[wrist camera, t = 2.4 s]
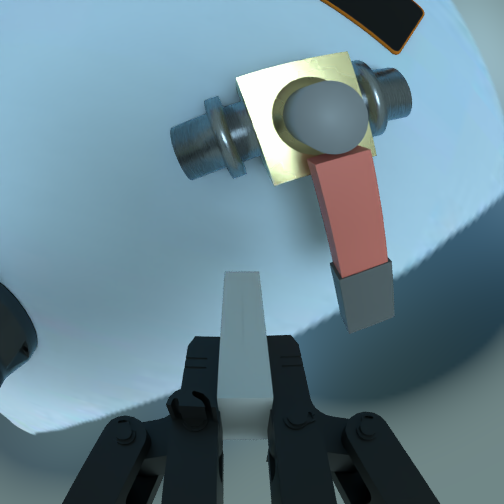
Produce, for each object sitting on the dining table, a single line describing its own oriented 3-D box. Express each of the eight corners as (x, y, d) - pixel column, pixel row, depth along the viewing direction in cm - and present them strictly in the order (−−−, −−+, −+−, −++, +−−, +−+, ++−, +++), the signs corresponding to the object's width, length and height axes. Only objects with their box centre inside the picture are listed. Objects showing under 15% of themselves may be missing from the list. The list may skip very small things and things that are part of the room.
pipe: (203, 184, 25) (190, 217, 18) (174, 112, 22) (146, 113, 15) (388, 128, 23) (441, 140, 16) (369, 58, 20) (418, 44, 13)
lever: (333, 301, 21) (347, 334, 18) (274, 95, 15) (285, 90, 11) (375, 286, 21) (395, 315, 18) (332, 80, 14) (356, 74, 11)
